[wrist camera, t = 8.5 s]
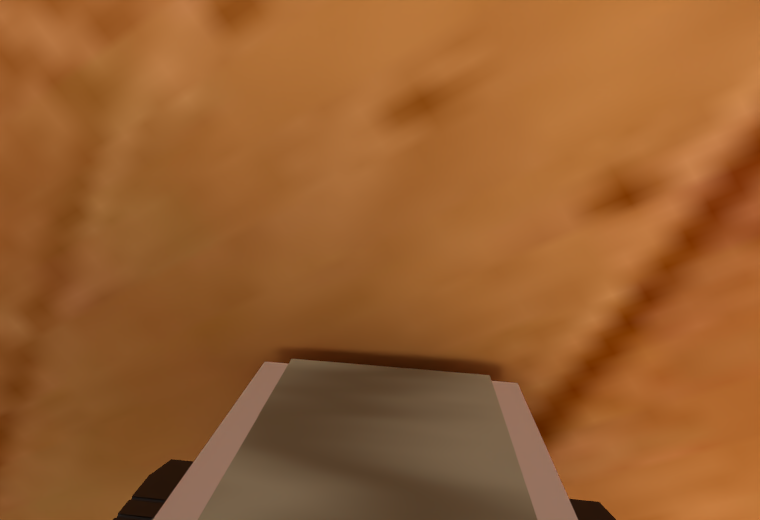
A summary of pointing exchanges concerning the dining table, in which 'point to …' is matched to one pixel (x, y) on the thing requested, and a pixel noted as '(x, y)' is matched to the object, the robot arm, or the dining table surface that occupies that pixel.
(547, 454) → the robot arm
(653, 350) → the dining table surface
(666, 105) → the dining table surface
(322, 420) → the square frame with handle
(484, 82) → the dining table surface
